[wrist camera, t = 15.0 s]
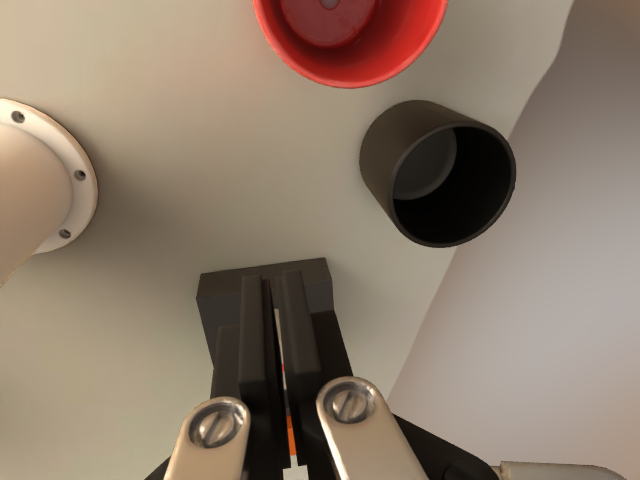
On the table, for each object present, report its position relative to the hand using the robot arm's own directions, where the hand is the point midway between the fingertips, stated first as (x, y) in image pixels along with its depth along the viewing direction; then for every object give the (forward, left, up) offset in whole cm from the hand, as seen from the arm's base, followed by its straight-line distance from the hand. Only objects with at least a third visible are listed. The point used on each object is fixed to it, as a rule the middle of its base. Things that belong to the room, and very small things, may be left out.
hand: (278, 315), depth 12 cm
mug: (+14, -4, -25) cm, 29 cm away
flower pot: (+6, +9, -25) cm, 28 cm away
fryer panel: (-2, -18, -25) cm, 31 cm away
